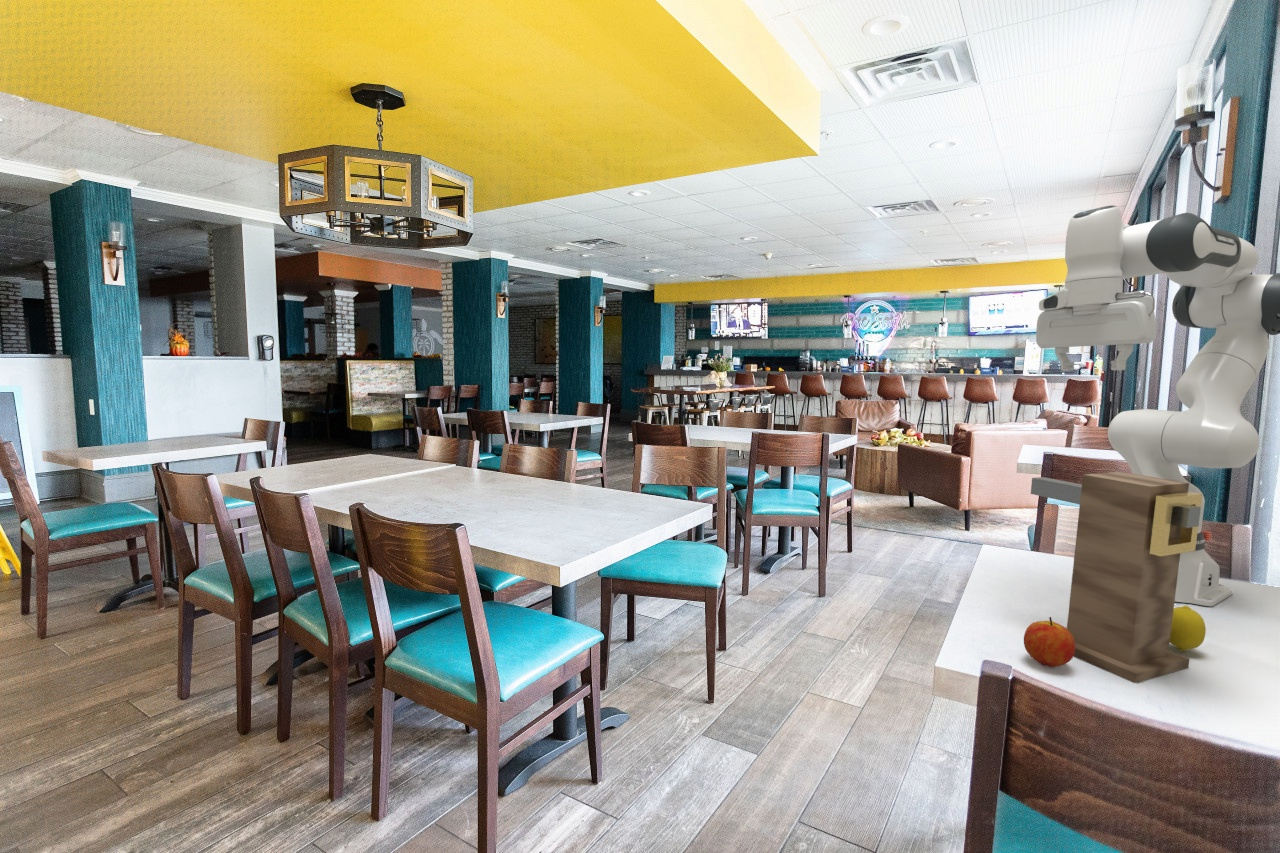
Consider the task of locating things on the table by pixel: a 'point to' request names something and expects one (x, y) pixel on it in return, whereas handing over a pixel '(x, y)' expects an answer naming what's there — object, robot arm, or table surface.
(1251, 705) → the table surface
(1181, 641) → the lemon
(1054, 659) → the fruit
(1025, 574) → the table surface
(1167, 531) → the frame
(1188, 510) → the shaft
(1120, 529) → the block
